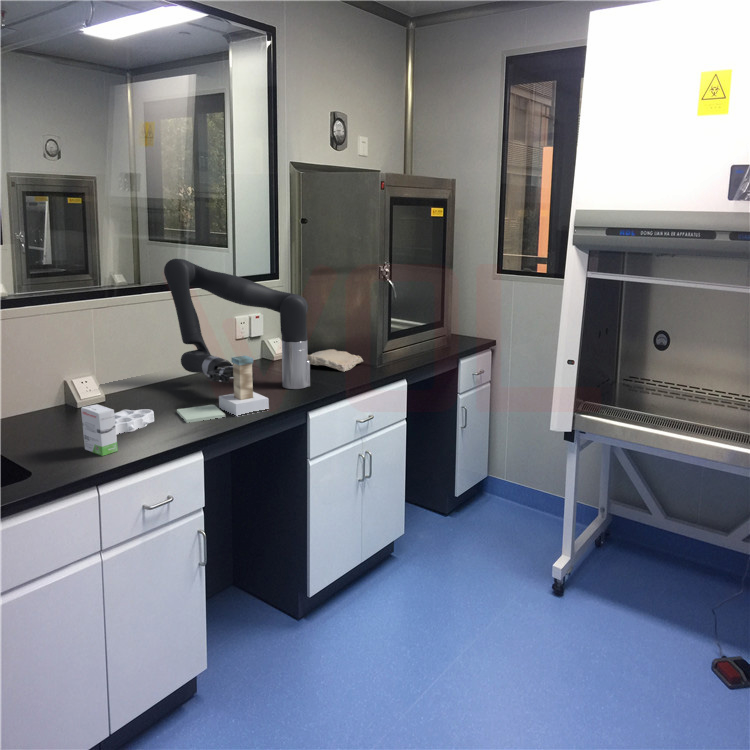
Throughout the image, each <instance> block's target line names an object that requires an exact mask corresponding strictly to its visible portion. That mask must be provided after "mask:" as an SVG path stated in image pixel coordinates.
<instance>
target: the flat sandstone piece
mask: <svg viewBox="0 0 750 750" xmlns="http://www.w3.org/2000/svg"><path fill="white" fill-rule="evenodd" d="M308 360H309V361H310V365H313V366H326V367H329V368H331V369H334V370H338V371H340V372H345V371H346V372H347V371H349V370H351V369H353V368H355V366H356V365H358V364H361V363H363V362H364V360H363V358H362V356H360V355H355V354H351V353H349V351H344V350H342V351H341V350H337V349H333V348H332V349H331V348H330V349H325V350H319V351H316V352H312V353H311V354H308Z"/></svg>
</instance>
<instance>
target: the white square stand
mask: <svg viewBox="0 0 750 750" xmlns="http://www.w3.org/2000/svg"><path fill="white" fill-rule="evenodd" d="M269 403H270V400H269V398H268V397H267V396H264V395H262V394H260V393H258V392H255V391H253V398H250V399H244V400H239V399H237V398H234V393H229V394H223V395H218V408H219V409H220V408H221V409H220V410H221V411H222V410H223V411H224V410H225V412H226V411H227V412H226V413H228V412H229V413H228V414H230V413H231V414H230V415H232V414H234V415H236V416H237V417H239V416H238V415H241V414H245V413H249V412H253V411H259V410H265V409H269V410H270V405H269ZM234 415H233V416H234ZM236 416H235V417H236Z"/></svg>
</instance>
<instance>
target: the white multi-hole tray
mask: <svg viewBox="0 0 750 750" xmlns="http://www.w3.org/2000/svg"><path fill="white" fill-rule="evenodd" d="M114 416H115V426H116V436H117V435H119V433H120V434H122V433H124V432H125V433H130V432H135V431H137V430H139V429H144V428H145V427H147V425H149V424H151V423H154V422H155V413H154V410H153V409H148V408H147V409H146V408H144V409H136V410H133V409H131V410H130V409H122V410H120V411H118V412H114ZM138 428H139V429H138Z"/></svg>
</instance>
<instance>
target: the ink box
mask: <svg viewBox="0 0 750 750" xmlns="http://www.w3.org/2000/svg"><path fill="white" fill-rule="evenodd" d="M80 410H81V412H80V413H81V422H82V423H81V424H82V432H83V441H84V442H83V443H84V450H85V451H89V452H90V453H93V454H96V455H98V456H102V457H103V456H107V455H110V454H113V453H116V452H118V451H119V447H118V437H117V435H116V426H115V416H114V413H115V409H112V408H109V407H106V406H104V405H100V404H99V403H98V404H97V403H96V404H91V405H87V406H82V407H81V408H80Z"/></svg>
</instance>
